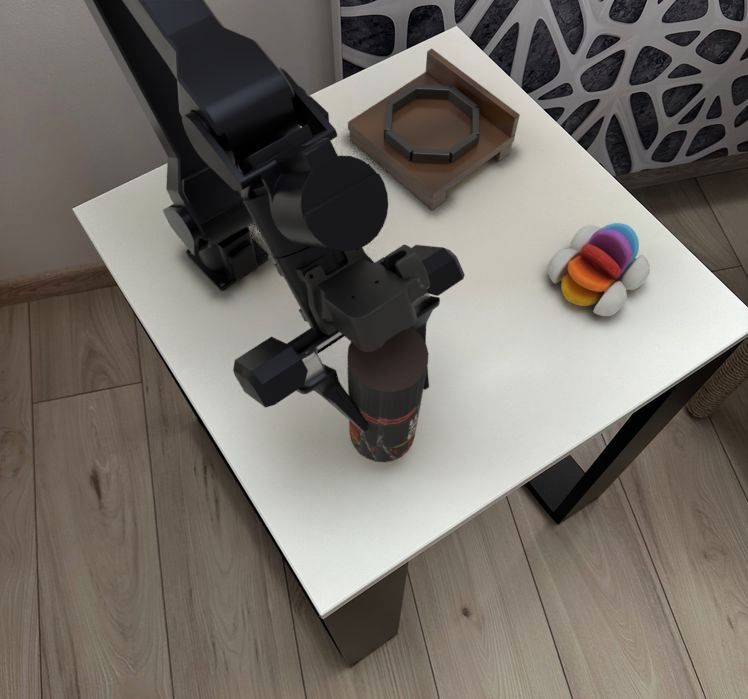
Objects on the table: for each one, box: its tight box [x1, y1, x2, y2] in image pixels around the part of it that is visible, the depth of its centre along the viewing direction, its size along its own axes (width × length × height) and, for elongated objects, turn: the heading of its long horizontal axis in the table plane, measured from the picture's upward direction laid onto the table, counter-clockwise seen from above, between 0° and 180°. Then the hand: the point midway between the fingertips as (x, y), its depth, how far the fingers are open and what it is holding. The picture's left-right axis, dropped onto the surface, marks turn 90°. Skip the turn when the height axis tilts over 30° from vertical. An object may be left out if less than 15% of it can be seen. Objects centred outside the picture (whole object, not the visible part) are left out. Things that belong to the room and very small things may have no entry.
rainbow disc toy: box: [547, 222, 651, 317], centre depth 78 cm, size 8×10×7 cm
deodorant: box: [346, 327, 430, 463], centre depth 63 cm, size 6×6×15 cm
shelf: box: [347, 48, 521, 211], centre depth 87 cm, size 14×13×6 cm
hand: (394, 408), depth 62 cm, fingers closed on deodorant, 6 cm apart
